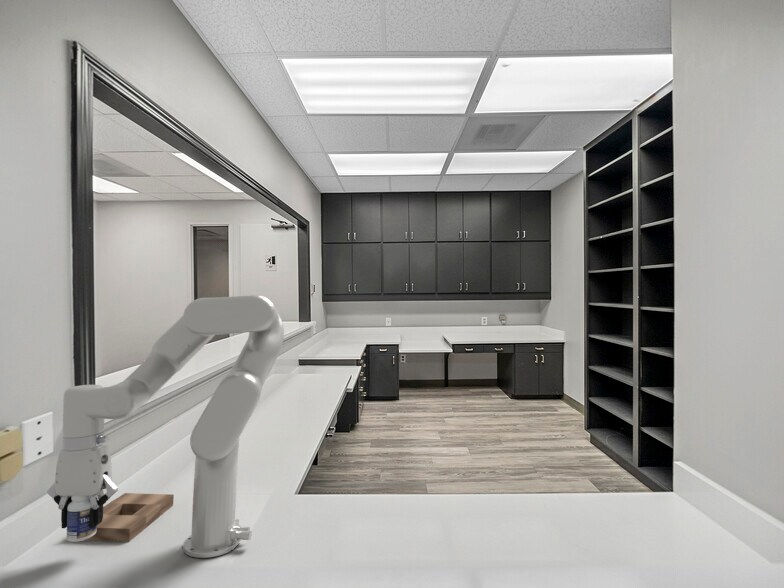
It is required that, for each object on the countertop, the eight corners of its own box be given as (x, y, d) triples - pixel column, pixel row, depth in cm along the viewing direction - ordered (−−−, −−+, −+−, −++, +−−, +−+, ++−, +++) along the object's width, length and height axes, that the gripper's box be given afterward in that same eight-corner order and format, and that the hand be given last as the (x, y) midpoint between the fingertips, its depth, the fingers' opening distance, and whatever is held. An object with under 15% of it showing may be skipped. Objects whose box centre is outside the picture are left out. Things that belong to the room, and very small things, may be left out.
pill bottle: (81, 543, 91) (81, 497, 92) (60, 541, 93) (61, 495, 93) (102, 531, 97) (103, 487, 97) (82, 529, 98) (83, 485, 98)
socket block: (173, 505, 122) (173, 494, 122) (129, 541, 102) (129, 528, 102) (124, 503, 122) (124, 493, 122) (70, 539, 102) (71, 526, 102)
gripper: (132, 436, 99) (131, 516, 98) (58, 437, 100) (57, 517, 99) (110, 446, 92) (109, 533, 91) (31, 447, 92) (29, 534, 91)
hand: (82, 524), depth 95 cm, fingers closed on pill bottle, 5 cm apart
